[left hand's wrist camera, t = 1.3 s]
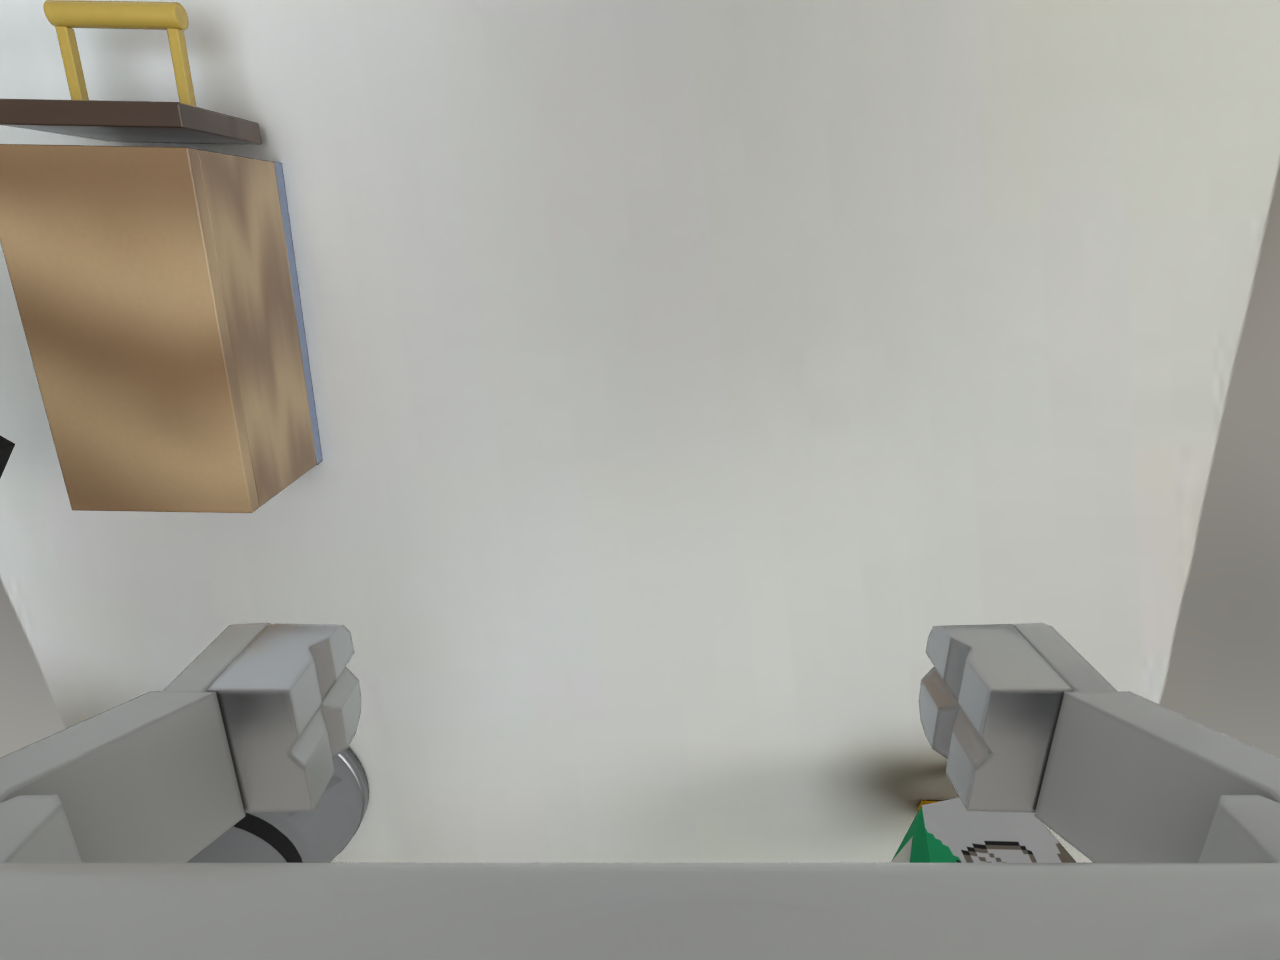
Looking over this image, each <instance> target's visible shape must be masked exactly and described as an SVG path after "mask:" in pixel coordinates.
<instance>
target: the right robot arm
mask: <svg viewBox="0 0 1280 960" xmlns="http://www.w3.org/2000/svg"><path fill="white" fill-rule="evenodd" d="M14 445H15V444H14V443H12V442H11V441H9V440H7V439H5V438H3V437H2V436H0V478H1V475H2V473H3V471H4V468H5V466H6V464H7V462H8V459H9V457H10V455H11V452H12V450H13V448H14ZM332 761H333V767H334V774H333V776H332V778H331V780H330V782H329V783H328V785H327V787H326V789H325V791H324V792H323V794H322V796H321V798H320V799H319V801H318V803H317V805H316V807H315V808H314V810H313V811H292V812H257V813H245V817H244V818H243V819H241V820H240V821H239V822H238V823H236V824H235V825H234V826H232V827H231V828H230V829H229V830H227V831H226V832H225V833H223V834H222V835H221V836H220V837H218V838H217V839H216V840H215V841H213V842H212V843H211V844H209V845H208V846H207V847H206V848H204V849H203V850H202V851H201V852H199V853H198V854H197V855H195V856H194V857H193V858H192V859H190V860H189V861H188V862H186V863H330V862H331V861H332V860H333V859H334V858H335V856H336V855H338V854H339V853H340V852H341V851H342V850H343V849H344V848H345V847H346V846H347V844H348V843H349V842H350V840H351V839H352V837H353V836H354V834H355V833H356V831H357V829H358V827H359V825H360V823H361V821H362V819H363V817H364V814H365V812H366V808H367V804H368V785H367V780H366V777H365V774H364V771H363V769H362V767H361V765H360V763H359V762H358V760H357V759H356V757H355V756H354V754H353V753H352V752H351V751H350V750H349V748H348V749H346V750H345V751H343V752H342V753H340V754H339V755H337V756H336V757H334V758H333V759H332Z"/></svg>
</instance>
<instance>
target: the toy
mask: <svg viewBox="0 0 1280 960" xmlns="http://www.w3.org/2000/svg"><path fill="white" fill-rule="evenodd" d="M917 810H918V813H917V815H916V817H915V819H914V821H913V823H912V824H911V826H910V828H909V830H908V832H907V834H906V836H905V837H904V839H903V841H902V843H901V845H900V847H899V849H898V850H897V852H896V854H895V856H894V858H893V860H892V861H891V863H1077V862H1076V861H1075V860H1074V859H1073V858H1072V857H1071V855H1070V854H1069V853H1068V852H1067V851H1066V850H1065V848H1064V847H1063V846H1062V845H1061V844H1060V843H1059V841H1058V840H1057V839H1056V838H1055V837H1054V836H1053V834H1052V833H1051V832H1050V831H1049V830H1048V829H1047V827H1046V826H1045V825H1044V824H1043V823H1042V822H1041V821H1040V820H1039V819H1038V818H1036V817H1035V816H1034V815H1035V814H1034V813H1023V812H987V811H967V810H966V808H965V807H964V805H963V803H962V801H961V799H960V798H959V797H958V798H954V799H949V800H944V801H921V803H920V805H919V806H918V808H917Z"/></svg>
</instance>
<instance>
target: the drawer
mask: <svg viewBox="0 0 1280 960" xmlns="http://www.w3.org/2000/svg"><path fill="white" fill-rule="evenodd" d="M44 12H45V15H46V17H47V19H48V20H49V22H50V23H51V24H52V25H53V26H55V27H56V31H57V36H58V40H59V45H60V49H61V54H62V58H63V63H64V67H65V72H66V76H67V81H68V85H69V90H70V94H71V99H72V100H37V99H0V125H5V126H12V127H18V128H25V129H31V130H38V131H44V132H51V133H57V134H64V135H70V136H77V137H83V138H90V139H96V140H103V141H117V142H171V143H224V144H261V138H260V131H259V125H258V123H255V122H252V121H248V120H244V119H240V118H236V117H232V116H229V115H225V114H221V113H217V112H213V111H210V110H206V109H202V108H198V107H196V102H195V96H194V90H193V85H192V79H191V73H190V67H189V61H188V55H187V49H186V43H185V37H184V32H183V31H182V30H186V29H187V28H188V16H187V13H186V11H185V9H184V7H183V6H182V5H181V4H180V3H177V2H131V1H80V0H47V1H45V3H44ZM72 28H107V29H158V30H167V33H168V38H169V44H170V50H171V55H172V61H173V67H174V72H175V78H176V84H177V89H178V95H179V101H180V103H179V102H142V101H90V100H89V98H88V94H87V89H86V84H85V80H84V75H83V70H82V66H81V61H80V56H79V52H78V47H77V42H76V38H75V33H74V29H72Z"/></svg>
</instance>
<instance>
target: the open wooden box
mask: <svg viewBox="0 0 1280 960" xmlns="http://www.w3.org/2000/svg"><path fill="white" fill-rule="evenodd" d="M0 241H1V245H2V248H3V252H4V256H5V260H6V263H7V267H8V271H9V275H10V278H11V282H12V286H13V290H14V293H15V297H16V301H17V305H18V308H19V312H20V316H21V320H22V323H23V327H24V331H25V335H26V339H27V342H28V346H29V350H30V354H31V357H32V361H33V365H34V369H35V372H36V376H37V380H38V384H39V387H40V391H41V395H42V399H43V402H44V406H45V410H46V414H47V417H48V421H49V425H50V429H51V432H52V436H53V440H54V444H55V447H56V451H57V455H58V459H59V462H60V466H61V470H62V474H63V478H64V481H65V485H66V489H67V493H68V496H69V500H70V504H71V508H72V510H91V511H155V512H219V513H252V512H254V511H255V510H256V509H258V508H259V507H260V506H262V505H263V504H264V503H266V502H267V501H268V500H270V499H271V498H272V497H274V496H275V495H277V494H278V493H279V492H281V491H282V490H283V489H285V488H286V487H287V486H289V485H290V484H291V483H293V482H294V481H295V480H297V479H298V478H299V477H301V476H302V475H303V474H305V473H306V472H307V471H309V470H310V469H311V468H313V467H314V466H315V465H318V464H319V463H320V462H322V454H321V447H320V440H319V433H318V425H317V418H316V411H315V404H314V396H313V389H312V382H311V374H310V367H309V360H308V353H307V345H306V338H305V331H304V323H303V316H302V309H301V302H300V294H299V287H298V280H297V273H296V265H295V258H294V251H293V243H292V236H291V229H290V222H289V214H288V207H287V200H286V192H285V185H284V178H283V171H282V163H278V162H270V161H264V160H258V159H252V158H246V157H240V156H234V155H228V154H222V153H216V152H210V151H204V150H199V149H193V148H186V147H132V146H78V145H25V144H0Z"/></svg>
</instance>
